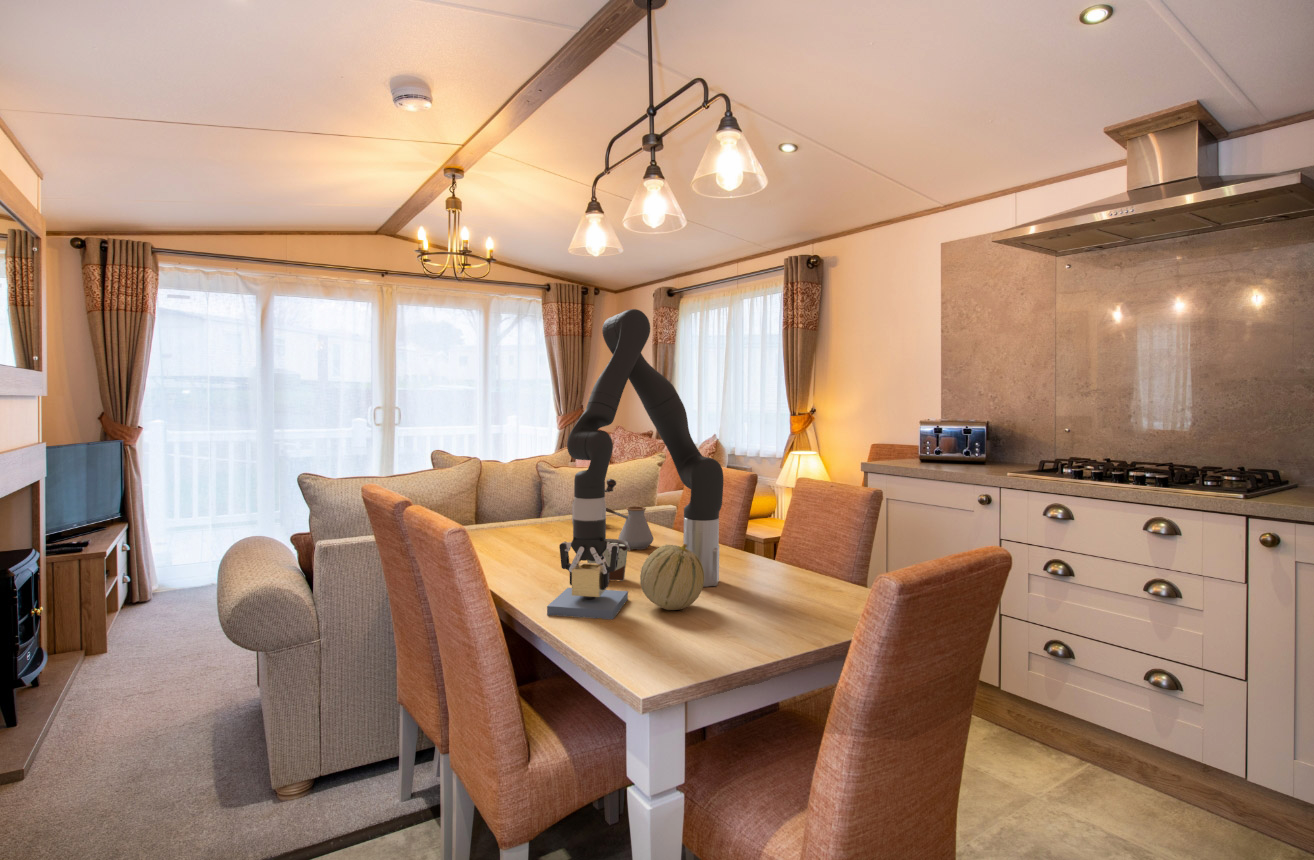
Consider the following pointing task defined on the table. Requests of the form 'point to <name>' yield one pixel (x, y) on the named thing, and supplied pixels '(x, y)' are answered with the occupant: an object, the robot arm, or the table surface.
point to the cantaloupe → (672, 577)
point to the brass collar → (587, 580)
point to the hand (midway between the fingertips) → (589, 587)
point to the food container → (620, 570)
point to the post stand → (588, 604)
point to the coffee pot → (635, 528)
